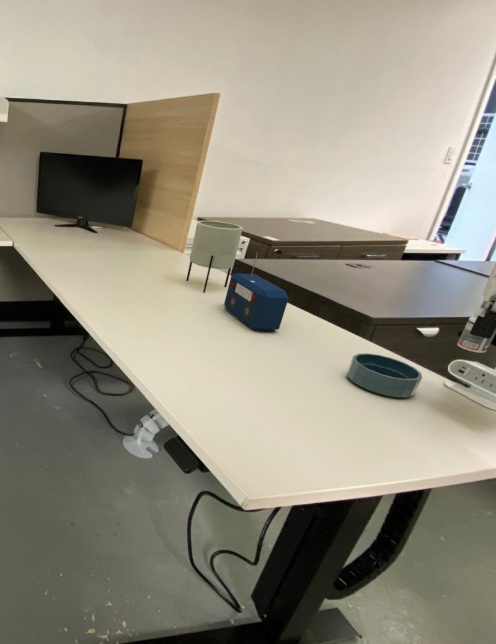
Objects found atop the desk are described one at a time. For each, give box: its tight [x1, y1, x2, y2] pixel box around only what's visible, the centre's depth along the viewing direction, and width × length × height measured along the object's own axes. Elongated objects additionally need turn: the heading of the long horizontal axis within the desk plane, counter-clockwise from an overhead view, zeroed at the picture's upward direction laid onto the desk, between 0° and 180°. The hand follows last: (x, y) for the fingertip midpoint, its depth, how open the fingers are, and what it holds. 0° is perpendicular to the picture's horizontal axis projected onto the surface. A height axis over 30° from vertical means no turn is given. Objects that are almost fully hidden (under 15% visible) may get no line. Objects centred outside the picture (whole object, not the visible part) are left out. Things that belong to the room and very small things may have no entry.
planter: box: [185, 220, 244, 294], centre depth 169 cm, size 15×16×23 cm
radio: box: [223, 251, 289, 331], centre depth 140 cm, size 21×9×20 cm, turn 6°
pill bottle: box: [456, 307, 496, 354], centre depth 95 cm, size 5×5×8 cm
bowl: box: [346, 352, 423, 398], centre depth 109 cm, size 13×13×5 cm
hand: (479, 331), depth 95 cm, fingers closed on pill bottle, 4 cm apart
